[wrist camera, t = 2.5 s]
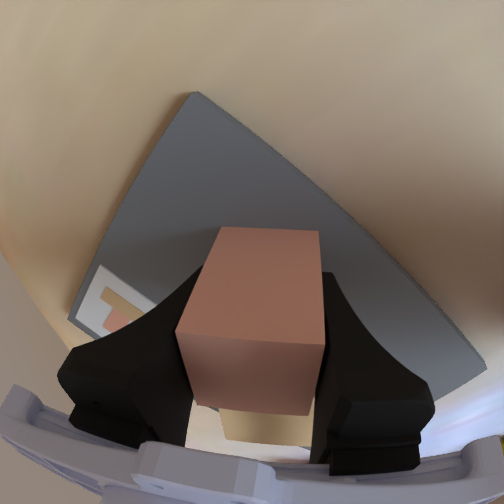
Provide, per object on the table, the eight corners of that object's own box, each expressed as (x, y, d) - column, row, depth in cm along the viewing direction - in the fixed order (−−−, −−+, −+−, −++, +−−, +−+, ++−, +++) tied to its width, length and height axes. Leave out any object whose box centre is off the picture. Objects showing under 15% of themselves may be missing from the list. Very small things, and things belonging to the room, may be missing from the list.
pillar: (318, 230, 13) (325, 344, 8) (310, 304, 15) (308, 416, 10) (221, 226, 13) (174, 331, 8) (228, 299, 15) (197, 405, 10)
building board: (484, 360, 17) (488, 370, 16) (316, 445, 25) (315, 454, 25) (198, 91, 11) (189, 93, 10) (72, 311, 20) (66, 321, 19)
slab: (343, 362, 17) (346, 398, 15) (325, 417, 21) (325, 446, 19) (223, 354, 18) (214, 389, 16) (232, 410, 22) (225, 439, 20)
